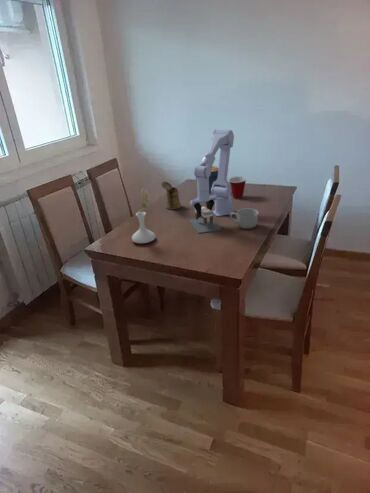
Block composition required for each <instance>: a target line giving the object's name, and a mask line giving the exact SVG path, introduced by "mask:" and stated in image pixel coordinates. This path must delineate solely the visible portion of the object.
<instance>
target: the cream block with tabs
mask: <svg viewBox="0 0 370 493" xmlns="http://www.w3.org/2000/svg"><path fill="white" fill-rule="evenodd" d="M201 206H202V205H201ZM213 211H214V210H209V209H207V206H202V207H201V217H200V218H203V219H204V225H206V224H207V217H210V223H213V220H214V213H213ZM194 214H195V216H194V217H195V218H194V219H196V220H198V218H199V217H198V215H197V212H196V209H195V208H194Z"/></svg>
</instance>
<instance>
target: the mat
mask: <svg viewBox="0 0 370 493" xmlns="http://www.w3.org/2000/svg"><path fill="white" fill-rule="evenodd" d="M188 222H189V224H190V225H191V226H192V227H193V229H194V231H196V233H197V234H199V235H200V234H207V233H212V232H219V231H222V228H221V227H220V225H218V223H216V221H215V220H214V219H213V223H210V217H207V224H206V225H204V219H203V218H201V217H200V218H199V217H198V220H196V219H195V218H194V219H193V218H192V219H188Z"/></svg>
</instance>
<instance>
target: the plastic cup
mask: <svg viewBox="0 0 370 493" xmlns="http://www.w3.org/2000/svg"><path fill="white" fill-rule="evenodd" d="M227 181H228V182H229V183H230V184H231V195H232V199H234V198H235V199H234V200H240V199H239V198H241V199H243V197H244V192H245V186H246V182H247V177H246V176H242V175H241V176H233V177H230V178H228V179H227Z"/></svg>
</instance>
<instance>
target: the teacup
mask: <svg viewBox="0 0 370 493" xmlns="http://www.w3.org/2000/svg"><path fill="white" fill-rule="evenodd" d="M233 215H234V216H235V218H236V219H235V218H233ZM229 219H230V220H231V221H233V222H234V223H235V224H237V225H238V226H239V227H240V228H242V229H244V230H251V229H254V228H255V227H257V225H258V222H259V211H258V210H257V209H256V208H255V209H254V208H252V207H250V208H249V207H246V208H244V207H243V208H241V209H238V210H237V211H236V212H235V211H233V212H232V213H231V214H229Z"/></svg>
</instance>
